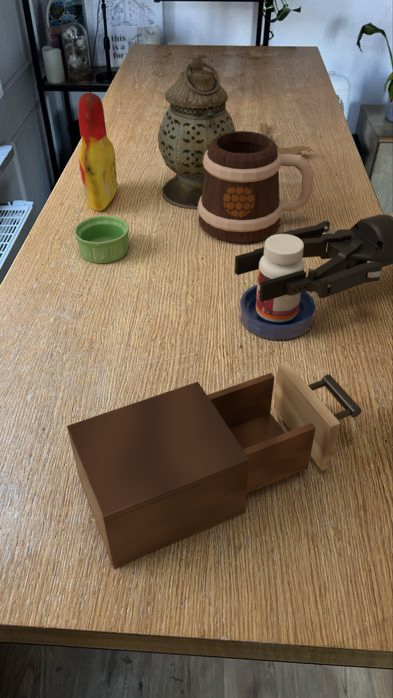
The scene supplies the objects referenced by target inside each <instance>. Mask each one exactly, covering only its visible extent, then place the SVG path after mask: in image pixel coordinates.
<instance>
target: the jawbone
mask: <svg viewBox="0 0 393 698" xmlns="http://www.w3.org/2000/svg"><path fill="white" fill-rule="evenodd" d="M260 129H261V131H262V133H261V134H263V135H266V136H267V137H269V138H270V139H272V140H273V139H274V137H273V136H274V135H273V134H269V126H268V123H267V122H261V123H260ZM277 150H278V152H279V154H294V155H301V156H302V153H303V152H302V151H305V152H307V153H310V152H314V150H313V149H312V148H311V147H309V146H306V145H295V146H291V147H281V146H280V147H279V146H278V145H277Z"/></svg>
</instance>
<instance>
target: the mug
mask: <svg viewBox="0 0 393 698" xmlns="http://www.w3.org/2000/svg"><path fill="white" fill-rule="evenodd" d="M277 146H278V145H277V144H276V142H275V141H274V140H273V138H272V139H270V138H269V137H267V136H266V135H263V134H262V133H260V132H256V131H250V130H248V131H247V130H238V131H237V130H235V131H234V132H228V133H224V134H222V135H219V136H218V137H216V138H215V139H214V140H212V141H211V142H210V144H209V147H208V150H207V151H206V153H205V155H204V159H203V164H204V168H205V173H204V182H203V191H202V196H201V198H200V200H199V203H198V209H197V211H198V223H199V226H200V227H201V229H202V230H203V231H204V232H205V233H207V234H208V235H209V236H210V237H212V238H215V239H217V240H220V241H224V242H226V243H232V244H233V243H235V244H236V243H237V244H246V243H255V242H259V241H262V240H265V239H267V238H269V237H270V236H272V234H275V233H276V231H278V229H279V228H280V225H281V217H282V215H283V212H295V211H298V210H300V209H301V208H303V207H305V206H306V205H307V204H308V203H309V201H310V199H311V197H312V194H313V192H314V191H313V189H314V174H315V173H314V170H313V169H312V168H313V167H312V166H311V164H310V162H309V161H308V160H307V159H306V158H305V157H303V155H302V154H301V155H294V154H279V152H278V150H277ZM282 167H295V168H296V169H297V170H298V171H299V173H300V175H301V187H300V193H299V195H298V197H297V198H296V199H293V200H281V198H280V169H281V168H282Z"/></svg>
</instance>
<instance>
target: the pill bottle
mask: <svg viewBox="0 0 393 698" xmlns="http://www.w3.org/2000/svg"><path fill="white" fill-rule="evenodd" d="M275 234H276V233H275ZM263 247H264V255H263V256H262V258H261V259H260V262H259V269H258V270H257V284H256V285H257V296H256V311H257V313H258V314H259V315H260V316H261V317H262V318H263V319H265V320H268V321H271V322H286V321H289V320H291V319H293V318H294V317H295V316H296V315H297V313H298V309H299V303H300V296H301V293H298V294H295V295H291V296H288V295H284V296H281V297H278V298H274V299H271V300H268V301H264V302H261V301H260V300H259V292H260V282H263V281H267V280H270V279H273V278H277V277H280V276H284V275H287V274H291V273H294V272H298V271H301V270H304V271H305V262H304V260H303V258H302V257H303V249H304V244H303V242H302V240H301V239H299V238H298V237H296V236H293V235H289V234H276V235H273V236H272V235H270V236H268V237H266V240H265V241H264V246H263Z"/></svg>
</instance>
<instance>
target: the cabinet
mask: <svg viewBox="0 0 393 698" xmlns="http://www.w3.org/2000/svg"><path fill="white" fill-rule="evenodd" d="M203 388H204V387H202V385H201V384H200V382H199V381H194V382H192V383H188V384H187V385H186V384H185V385H183V386H180V387H178V388H175V389H172V390H169V391H166V392H163V393H160V394H156V395H154V396H151V397H147V398H145V399H141V400H139V401H136V402H133V403H130V404H127V405H124V406H120V407H118V408H115V409H113V410H109V411H106V412H103V413H100V414H97V415H95V416H91V417H88V418H85V419H82V420H80V421H77V422H73V423H71V424H68V425H66V430H67V433H68V437H69V442H70V446H71V450H72V455H73V459H74V463H75V467H76V472H77V475H78V480H79V482H80V484H81V487H82V490H83V493H84V496H85V499H86V500H87V503H88V506H89V508H90V510H91V513H92V516H93V518H94V521H95V524H96V526H97V529H98V533H99V535H100V537H101V540H102V542H103V544H104V547H105V550H106V553H107V555H108V558H109V561H110V563H111V565H112V568H113V569H116V568H118V567H121V566H124V565H125V564H128V563H130V562H133V561H134V560H135V561H136V560H137V559H139V558H142V557H144V556H147V555H149V554H152V553H153V552H156V551H158V550H161V549H163V548H166V547H168V546H170V545H173V544H175V543H178V542H180V541H182V540H184V539H187V538H190V537H191V536H193V535H196V534H199V533H201V532H204V531H206V530H207V529H210V528H212V527H215V526H217V525H219V524H222V523H225V522H226V521H229V520H231V519H234V518H236V517H238V516H240V515H243V514H245V513H246V507H247V496H248V493H247V485H248V473H249V458H248V456H247V455H246V453H245V452H244V450H243V449H242V447H241V446H240V444H239V443H238V441H237V440H236V438H235V437H234V435H233V434H232V432H231V431H230V429H229V428H228V426H227V425H226V423H225V422H224V420H223V419H222V417H221V416H220V414H219V413H218V411H217V410H216V408H215V407H214V405H213V404H212V402H211V401H210V399H209V397H208V396H207V395H208V394H207V393H206V392H205V390H204V389H203Z"/></svg>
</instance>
